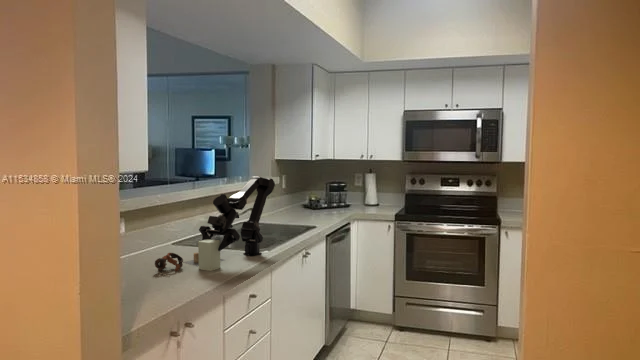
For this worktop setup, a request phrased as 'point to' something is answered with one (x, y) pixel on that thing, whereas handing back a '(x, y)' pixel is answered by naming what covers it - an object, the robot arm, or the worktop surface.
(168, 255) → the red and black headphones
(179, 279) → the worktop surface
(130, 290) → the worktop surface
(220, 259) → the slate mat
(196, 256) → the cork stopper
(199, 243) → the sage cover
